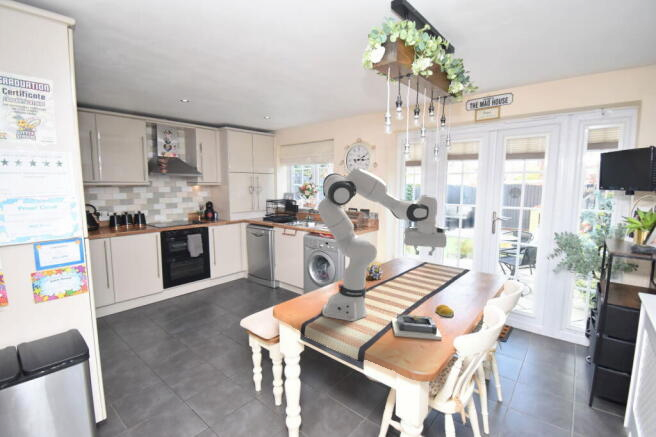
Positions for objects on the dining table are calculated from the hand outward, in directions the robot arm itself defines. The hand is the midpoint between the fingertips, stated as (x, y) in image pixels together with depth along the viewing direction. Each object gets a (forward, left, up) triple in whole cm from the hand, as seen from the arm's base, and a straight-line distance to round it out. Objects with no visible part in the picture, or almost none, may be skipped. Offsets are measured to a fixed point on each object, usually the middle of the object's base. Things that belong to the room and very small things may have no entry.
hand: (423, 254), depth 151 cm
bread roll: (+14, +3, -32) cm, 35 cm away
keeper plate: (-5, -18, -31) cm, 36 cm away
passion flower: (-21, +51, -31) cm, 63 cm away
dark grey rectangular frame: (-5, -18, -30) cm, 35 cm away
